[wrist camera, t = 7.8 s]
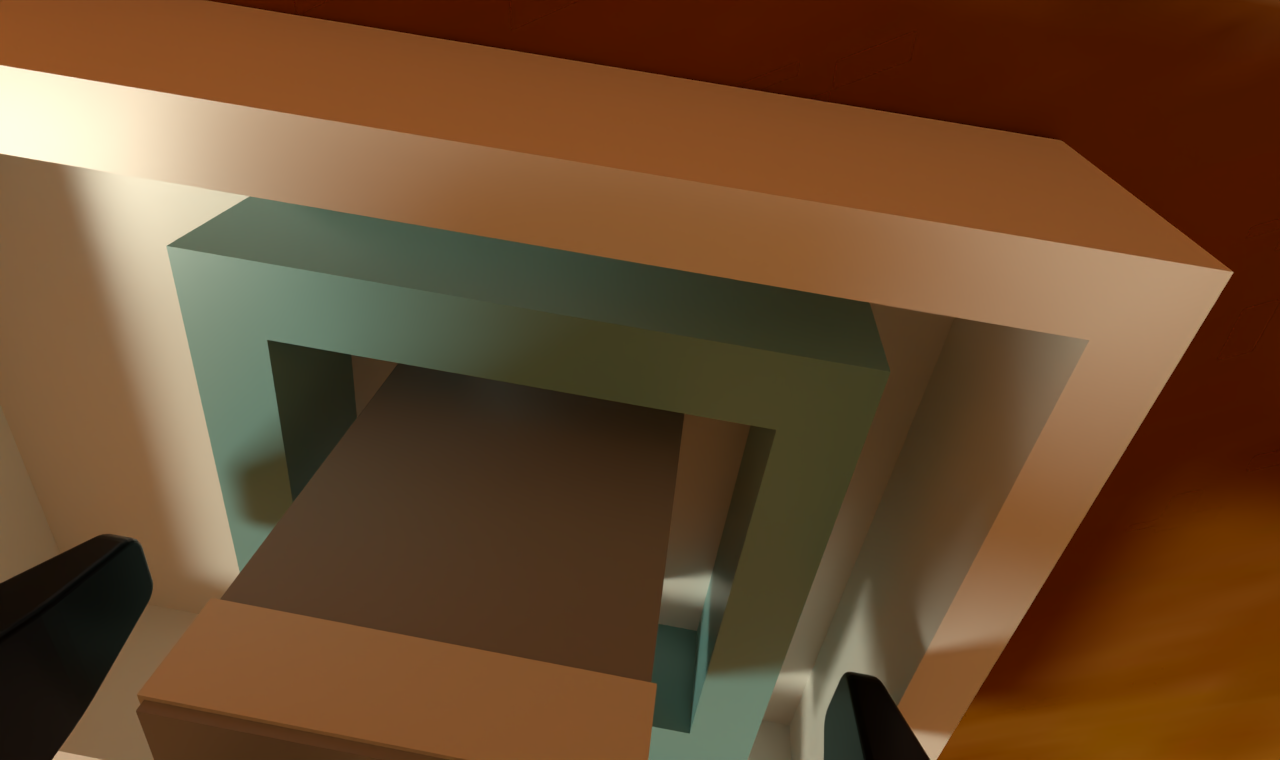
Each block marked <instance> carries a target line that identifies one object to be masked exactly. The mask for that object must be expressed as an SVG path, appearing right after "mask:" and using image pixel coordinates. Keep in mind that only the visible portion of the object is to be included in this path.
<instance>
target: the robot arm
mask: <svg viewBox="0 0 1280 760" xmlns="http://www.w3.org/2000/svg"><path fill="white" fill-rule="evenodd" d="M152 591H153V579H152V576H151V573H150V570H149V567H148V563H147V560H146V557H145V554H144V551H143V548H142V545H141V543H140V542H139V541H138V540H137V539H135V538H131V537H125V536H120V535H115V534H102V535H98V536H96V537H93V538H91V539H89V540H87V541H85V542H83V543H81V544H79V545H77V546H75V547H73V548H71V549H69V550H67V551H65V552H63V553H61V554H59V555H57V556H55V557H53V558H51V559H49V560H47V561H44V562H42V563H40V564H38V565H36V566H34V567H32V568H30V569H28V570H26V571H24V572H22V573H20V574H18V575H16V576H14V577H12V578H10V579H8V580H6V581H4V582H2V583H0V760H52V759H53V758H54V756H55V755H56V754H57V752H58V751H59V749H60V748H61V746H62V745H63V744H64V742H65V741H66V739H67V738H68V737H69V735H70V734H71V732H72V731H73V729H74V728H75V726H76V725H77V723H78V722H79V720H80V719H81V717H82V716H83V715H84V713H85V711H86V710H87V708H88V707H89V705H90V703H91V702H92V700H93V698H94V697H95V695H96V693H97V692H98V690H99V688H100V686H101V685H102V683H103V681H104V679H105V678H106V676H107V674H108V672H109V671H110V669H111V667H112V665H113V664H114V662H115V660H116V658H117V657H118V655H119V653H120V651H121V650H122V648H123V646H124V644H125V643H126V641H127V639H128V637H129V636H130V634H131V632H132V630H133V629H134V627H135V625H136V623H137V622H138V620H139V618H140V616H141V615H142V613H143V611H144V609H145V608H146V606H147V604H148V602H149V600H150V598H151V595H152ZM824 760H930V758H929V757H928V755H927V754H926V752H925V750H924V749H923V747H922V746H921V744H920V742H919V741H918V739H917V738H916V736H915V734H914V733H913V731H912V729H911V728H910V726H909V725H908V723H907V721H906V720H905V718H904V717H903V715H902V713H901V712H900V710H899V709H898V707H897V705H896V704H895V702H894V701H893V699H892V697H891V696H890V694H889V693H888V691H887V689H886V688H885V686H884V685H883V683H882V682H881V681H880V680H879V679H878V678H877V677H875V676H872V675H867V674H861V673H856V672H846V673H844V674H843V675H842V677H841V679H840V681H839V683H838V686H837V688H836V690H835V692H834V695H833V697H832V699H831V701H830V704H829V706H828V708H827V711H826V715H825V721H824Z"/></svg>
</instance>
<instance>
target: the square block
mask: <svg viewBox="0 0 1280 760" xmlns="http://www.w3.org/2000/svg"><path fill="white" fill-rule="evenodd" d="M683 421H684V414H683V413H678V412H672V411H666V410H661V409H655V408H649V407H644V406H638V405H632V404H627V403H621V402H616V401H610V400H604V399H599V398H593V397H587V396H582V395H576V394H570V393H565V392H559V391H553V390H548V389H542V388H537V387H531V386H525V385H520V384H514V383H508V382H503V381H497V380H491V379H486V378H480V377H474V376H469V375H463V374H458V373H452V372H446V371H441V370H435V369H429V368H424V367H418V366H412V365H407V364H401V363H398V364H397V365H396V367H395V368H394V369H393V371H392V372H391V373H390V375H389V376H388V377H387V379H386V380H385V381H384V383H383V384H382V385H381V387H380V388H379V389H378V391H377V392H376V393H375V395H374V396H373V397H372V399H371V400H370V401H369V402H368V404H367V405H366V406H365V408H364V409H363V410H362V412H361V413H360V414H359V416H358V417H357V418H356V420H355V421H354V422H353V424H352V425H351V426H350V428H349V429H348V430H347V432H346V433H345V434H344V436H343V437H342V438H341V440H340V441H339V442H338V444H337V445H336V446H335V448H334V449H333V450H332V451H331V453H330V454H329V455H328V457H327V458H326V459H325V461H324V462H323V463H322V465H321V466H320V467H319V469H318V470H317V471H316V473H315V474H314V475H313V477H312V478H311V479H310V481H309V482H308V483H307V485H306V486H305V487H304V489H303V490H302V491H301V493H300V494H299V495H298V496H297V498H296V499H295V500H294V502H293V503H292V504H291V506H290V507H289V508H288V510H287V511H286V512H285V514H284V515H283V516H282V518H281V519H280V520H279V522H278V523H277V524H276V526H275V527H274V528H273V530H272V531H271V532H270V534H269V535H268V536H267V538H266V539H265V540H264V542H263V543H262V544H261V545H260V547H259V548H258V549H257V551H256V552H255V553H254V555H253V556H252V557H251V559H250V560H249V561H248V563H247V564H246V565H245V567H244V568H243V569H242V571H241V572H240V573H239V575H238V576H237V577H236V579H235V580H234V581H233V583H232V584H231V585H230V587H229V588H228V589H227V591H226V592H225V593H224V594H223V596H222V597H221V598H220V599H216V598H211V599H210V600H209V601H208V603H207V604H206V605H205V606H204V608H203V609H202V610H201V612H200V613H199V614H198V616H197V617H196V618H195V619H194V621H193V622H192V623H191V625H190V626H189V627H188V629H187V630H186V631H185V632H184V634H183V635H182V636H181V638H180V639H179V640H178V642H177V643H176V644H175V645H174V647H173V648H172V649H171V651H170V652H169V653H168V655H167V656H166V657H165V658H164V660H163V661H162V662H161V664H160V665H159V666H158V668H157V669H156V670H155V671H154V673H153V674H152V675H151V677H150V678H149V679H148V681H147V682H146V683H145V684H144V686H143V687H142V688H141V690H140V691H139V692H138V694H137V697H138V700H139V702H140V706H139V707H138V708H137V710H136V713H137V716H138V718H139V721H140V724H141V726H142V729H143V732H144V734H145V737H146V740H147V742H148V745H149V748H150V750H151V753H152V756H153V758H154V760H648V757H649V749H650V740H651V731H652V723H653V714H654V706H655V697H656V688H657V684H656V683H651V680H652V672H653V663H654V655H655V647H656V639H657V631H658V623H659V615H660V607H661V599H662V591H663V583H664V574H665V566H666V558H667V550H668V542H669V534H670V526H671V518H672V510H673V502H674V494H675V485H676V477H677V469H678V461H679V453H680V445H681V437H682V429H683Z"/></svg>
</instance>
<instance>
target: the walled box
mask: <svg viewBox="0 0 1280 760" xmlns="http://www.w3.org/2000/svg"><path fill="white" fill-rule="evenodd" d="M1232 274H1233V271H1232V270H1230V269H1229V268H1228V267H1226V266H1225V265H1224V264H1222V263H1221V262H1220V261H1219V260H1217V259H1216V258H1215V257H1213V256H1212V255H1211V254H1209V253H1208V252H1207V251H1206V250H1204V249H1203V248H1202V247H1200V246H1199V245H1198V244H1196V243H1195V242H1194V241H1192V240H1191V239H1190V238H1189V237H1187V236H1186V235H1185V234H1183V233H1182V232H1181V231H1179V230H1178V229H1177V228H1175V227H1174V226H1173V225H1172V224H1170V223H1169V222H1168V221H1166V220H1165V219H1164V218H1162V217H1161V216H1160V215H1158V214H1157V213H1156V212H1155V211H1153V210H1152V209H1151V208H1149V207H1148V206H1147V205H1145V204H1144V203H1143V202H1142V201H1140V200H1139V199H1138V198H1136V197H1135V196H1134V195H1132V194H1131V193H1130V192H1128V191H1127V190H1126V189H1125V188H1123V187H1122V186H1121V185H1119V184H1118V183H1117V182H1115V181H1114V180H1113V179H1111V178H1110V177H1109V176H1108V175H1106V174H1105V173H1104V172H1102V171H1101V170H1100V169H1098V168H1097V167H1096V166H1094V165H1093V164H1092V163H1091V162H1089V161H1088V160H1087V159H1085V158H1084V157H1083V156H1081V155H1080V154H1079V153H1077V152H1076V151H1075V150H1074V149H1072V148H1071V147H1070V146H1068V145H1067V144H1066V143H1064V142H1063V141H1062V140H1056V139H1050V138H1044V137H1038V136H1032V135H1026V134H1020V133H1014V132H1008V131H1001V130H995V129H989V128H983V127H977V126H971V125H965V124H959V123H953V122H946V121H940V120H934V119H928V118H922V117H916V116H910V115H904V114H898V113H892V112H885V111H879V110H873V109H867V108H861V107H855V106H849V105H843V104H837V103H830V102H824V101H818V100H812V99H806V98H800V97H794V96H788V95H782V94H775V93H769V92H763V91H757V90H751V89H745V88H739V87H733V86H727V85H720V84H714V83H708V82H702V81H696V80H690V79H684V78H678V77H672V76H666V75H659V74H653V73H647V72H641V71H635V70H629V69H623V68H617V67H611V66H604V65H598V64H592V63H586V62H580V61H574V60H568V59H562V58H556V57H549V56H543V55H537V54H531V53H525V52H519V51H513V50H507V49H501V48H495V47H488V46H482V45H476V44H470V43H464V42H458V41H452V40H446V39H440V38H433V37H427V36H421V35H415V34H409V33H403V32H397V31H391V30H385V29H378V28H372V27H366V26H360V25H354V24H348V23H342V22H336V21H330V20H323V19H317V18H311V17H305V16H299V15H293V14H287V13H281V12H275V11H269V10H262V9H256V8H250V7H244V6H238V5H232V4H226V3H220V2H214V1H207V0H0V583H2V582H4V581H6V580H8V579H10V578H12V577H14V576H16V575H18V574H20V573H22V572H24V571H26V570H28V569H30V568H32V567H34V566H36V565H38V564H40V563H42V562H44V561H47V560H49V559H51V558H53V557H55V556H57V555H59V554H61V553H63V552H65V551H67V550H69V549H71V548H73V547H75V546H77V545H79V544H81V543H83V542H85V541H87V540H89V539H91V538H93V537H96V536H98V535H102V534H115V535H120V536H125V537H131V538H135V539H137V540H138V541H139V542H140V543H141V545H142V548H143V551H144V554H145V557H146V560H147V563H148V567H149V570H150V573H151V576H152V579H153V591H152V595H151V598H150V600H149V602H148V604H147V606H146V608H145V609H144V611H143V613H142V615H141V616H140V618H139V620H138V622H137V623H136V625H135V627H134V629H133V630H132V632H131V634H130V636H129V637H128V639H127V641H126V643H125V644H124V646H123V648H122V650H121V651H120V653H119V655H118V657H117V658H116V660H115V662H114V664H113V665H112V667H111V669H110V671H109V672H108V674H107V676H106V678H105V679H104V681H103V683H102V685H101V686H100V688H99V690H98V692H97V693H96V695H95V697H94V698H93V700H92V702H91V703H90V705H89V707H88V708H87V710H86V711H85V713H84V715H83V716H82V717H81V719H80V720H79V722H78V723H77V725H76V726H75V728H74V729H73V731H72V732H71V734H70V735H69V737H68V738H67V739H66V741H65V742H64V744H63V745H62V746H61V748H60V749H59V751H58V752H57V754H56V755H55V756H54V758H53V759H52V760H154V758H153V756H152V753H151V750H150V748H149V745H148V742H147V740H146V737H145V734H144V732H143V729H142V726H141V724H140V721H139V718H138V716H137V713H136V710H137V708H138V707H139V706H140V702H139V700H138V697H137V694H138V692H139V691H140V690H141V688H142V687H143V686H144V684H145V683H146V682H147V681H148V679H149V678H150V677H151V675H152V674H153V673H154V671H155V670H156V669H157V668H158V666H159V665H160V664H161V662H162V661H163V660H164V658H165V657H166V656H167V655H168V653H169V652H170V651H171V649H172V648H173V647H174V645H175V644H176V643H177V642H178V640H179V639H180V638H181V636H182V635H183V634H184V632H185V631H186V630H187V629H188V627H189V626H190V625H191V623H192V622H193V621H194V619H195V618H196V617H197V616H198V614H199V613H200V612H201V610H202V609H203V608H204V606H205V605H206V604H207V603H208V601H209V600H210V599H211V598H216V599H220V598H221V597H222V596H223V594H224V593H225V592H226V591H227V589H228V588H229V587H230V585H231V584H232V583H233V581H234V580H235V579H236V577H237V576H238V575H239V573H240V572H241V571H242V569H243V568H244V567H245V565H246V564H247V563H248V561H249V560H250V559H251V557H252V556H253V555H254V553H255V552H256V551H257V549H258V548H259V547H260V545H261V544H262V543H263V542H264V540H265V539H266V538H267V536H268V535H269V534H270V532H271V531H272V530H273V528H274V527H275V526H276V524H277V523H278V522H279V520H280V519H281V518H282V516H283V515H284V514H285V512H286V511H287V510H288V508H289V507H290V506H291V504H292V503H293V502H294V500H295V499H296V498H297V496H298V495H299V494H300V493H301V491H302V490H303V489H304V487H305V486H306V485H307V483H308V482H309V481H310V479H311V478H312V477H313V475H314V474H315V473H316V471H317V470H318V469H319V467H320V466H321V465H322V463H323V462H324V461H325V459H326V458H327V457H328V455H329V454H330V453H331V451H332V450H333V449H334V448H335V446H336V445H337V444H338V442H339V441H340V440H341V438H342V437H343V436H344V434H345V433H346V432H347V430H348V429H349V428H350V426H351V425H352V424H353V422H354V421H355V420H356V418H357V417H358V416H359V414H360V413H361V412H362V410H363V409H364V408H365V406H366V405H367V404H368V402H369V401H370V400H371V399H372V397H373V396H374V395H375V393H376V392H377V391H378V389H379V388H380V387H381V385H382V384H383V383H384V381H385V380H386V379H387V377H388V376H389V375H390V373H391V372H392V371H393V369H394V368H395V367H396V365H397V364H398V363H401V364H407V365H412V366H418V367H424V368H429V369H435V370H441V371H446V372H452V373H458V374H463V375H469V376H474V377H480V378H486V379H491V380H497V381H503V382H508V383H514V384H520V385H525V386H531V387H537V388H542V389H548V390H553V391H559V392H565V393H570V394H576V395H582V396H587V397H593V398H599V399H604V400H610V401H616V402H621V403H627V404H632V405H638V406H644V407H649V408H655V409H661V410H666V411H672V412H678V413H683V414H684V421H683V429H682V437H681V445H680V453H679V461H678V469H677V477H676V485H675V494H674V502H673V510H672V518H671V526H670V534H669V542H668V550H667V558H666V566H665V574H664V583H663V591H662V599H661V607H660V615H659V623H658V631H657V639H656V647H655V655H654V663H653V672H652V680H651V683H656V684H657V688H656V697H655V706H654V714H653V723H652V731H651V740H650V749H649V757H648V760H824V721H825V715H826V711H827V708H828V706H829V704H830V701H831V699H832V697H833V695H834V692H835V690H836V688H837V686H838V683H839V681H840V679H841V677H842V675H843V674H844V673H846V672H856V673H861V674H867V675H872V676H875V677H877V678H878V679H879V680H880V681H881V682H882V683H883V685H884V686H885V688H886V689H887V691H888V693H889V694H890V696H891V697H892V699H893V701H894V702H895V704H896V705H897V707H898V709H899V710H900V712H901V713H902V715H903V717H904V718H905V720H906V721H907V723H908V725H909V726H910V728H911V729H912V731H913V733H914V734H915V736H916V738H917V739H918V741H919V742H920V744H921V746H922V747H923V749H924V750H925V752H926V754H927V755H928V757H929V758H930V760H937V758H938V756H939V755H940V753H941V751H942V750H943V748H944V746H945V745H946V743H947V741H948V740H949V738H950V737H951V735H952V733H953V732H954V730H955V728H956V727H957V725H958V723H959V722H960V720H961V719H962V717H963V715H964V714H965V712H966V710H967V709H968V707H969V705H970V704H971V702H972V700H973V699H974V697H975V696H976V694H977V692H978V691H979V689H980V687H981V686H982V684H983V682H984V681H985V679H986V678H987V676H988V674H989V673H990V671H991V669H992V668H993V666H994V664H995V663H996V661H997V659H998V658H999V656H1000V655H1001V653H1002V651H1003V650H1004V648H1005V646H1006V645H1007V643H1008V641H1009V640H1010V638H1011V637H1012V635H1013V633H1014V632H1015V630H1016V628H1017V627H1018V625H1019V623H1020V622H1021V620H1022V618H1023V617H1024V615H1025V614H1026V612H1027V610H1028V609H1029V607H1030V605H1031V604H1032V602H1033V600H1034V599H1035V597H1036V596H1037V594H1038V592H1039V591H1040V589H1041V587H1042V586H1043V584H1044V582H1045V581H1046V579H1047V577H1048V576H1049V574H1050V573H1051V571H1052V569H1053V568H1054V566H1055V564H1056V563H1057V561H1058V559H1059V558H1060V556H1061V555H1062V553H1063V551H1064V550H1065V548H1066V546H1067V545H1068V543H1069V541H1070V540H1071V538H1072V537H1073V535H1074V533H1075V532H1076V530H1077V528H1078V527H1079V525H1080V523H1081V522H1082V520H1083V518H1084V517H1085V515H1086V514H1087V512H1088V510H1089V509H1090V507H1091V505H1092V504H1093V502H1094V500H1095V499H1096V497H1097V496H1098V494H1099V492H1100V491H1101V489H1102V487H1103V486H1104V484H1105V482H1106V481H1107V479H1108V477H1109V476H1110V474H1111V473H1112V471H1113V469H1114V468H1115V466H1116V464H1117V463H1118V461H1119V459H1120V458H1121V456H1122V455H1123V453H1124V451H1125V450H1126V448H1127V446H1128V445H1129V443H1130V441H1131V440H1132V438H1133V436H1134V435H1135V433H1136V432H1137V430H1138V428H1139V427H1140V425H1141V423H1142V422H1143V420H1144V418H1145V417H1146V415H1147V414H1148V412H1149V410H1150V409H1151V407H1152V405H1153V404H1154V402H1155V400H1156V399H1157V397H1158V395H1159V394H1160V392H1161V391H1162V389H1163V387H1164V386H1165V384H1166V382H1167V381H1168V379H1169V377H1170V376H1171V374H1172V373H1173V371H1174V369H1175V368H1176V366H1177V364H1178V363H1179V361H1180V359H1181V358H1182V356H1183V354H1184V353H1185V351H1186V350H1187V348H1188V346H1189V345H1190V343H1191V341H1192V340H1193V338H1194V336H1195V335H1196V333H1197V332H1198V330H1199V328H1200V327H1201V325H1202V323H1203V322H1204V320H1205V318H1206V317H1207V315H1208V313H1209V312H1210V310H1211V309H1212V307H1213V305H1214V304H1215V302H1216V300H1217V299H1218V297H1219V295H1220V294H1221V292H1222V291H1223V289H1224V287H1225V286H1226V284H1227V282H1228V281H1229V279H1230V277H1231V276H1232Z"/></svg>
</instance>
